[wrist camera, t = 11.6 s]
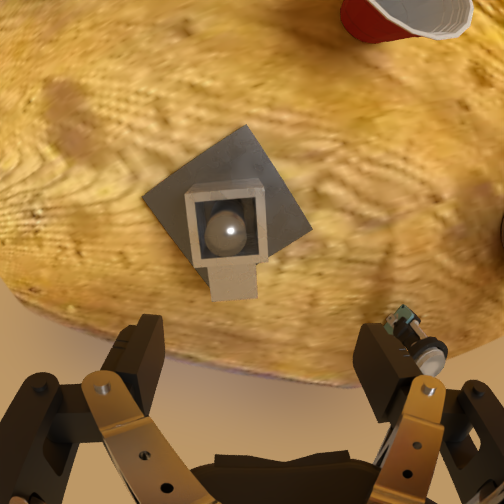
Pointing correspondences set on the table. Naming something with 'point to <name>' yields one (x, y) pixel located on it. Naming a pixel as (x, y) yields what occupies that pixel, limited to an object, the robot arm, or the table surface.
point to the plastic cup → (405, 19)
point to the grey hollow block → (255, 250)
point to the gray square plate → (229, 200)
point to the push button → (417, 341)
